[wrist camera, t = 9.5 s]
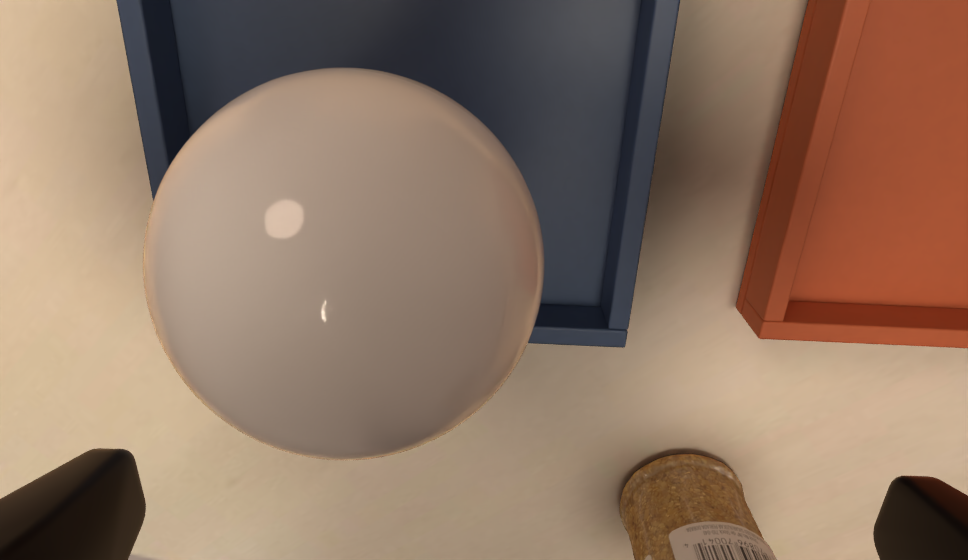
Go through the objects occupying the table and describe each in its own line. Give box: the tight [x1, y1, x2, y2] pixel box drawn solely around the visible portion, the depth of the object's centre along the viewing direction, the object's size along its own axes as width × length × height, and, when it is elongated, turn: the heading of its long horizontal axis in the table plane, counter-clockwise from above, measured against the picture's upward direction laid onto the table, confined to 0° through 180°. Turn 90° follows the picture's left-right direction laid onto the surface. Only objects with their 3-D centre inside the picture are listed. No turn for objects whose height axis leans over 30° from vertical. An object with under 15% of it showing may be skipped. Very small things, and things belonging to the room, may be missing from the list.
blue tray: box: [117, 0, 680, 347], centre depth 17 cm, size 11×13×2 cm
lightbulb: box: [143, 67, 545, 460], centre depth 13 cm, size 6×6×11 cm
